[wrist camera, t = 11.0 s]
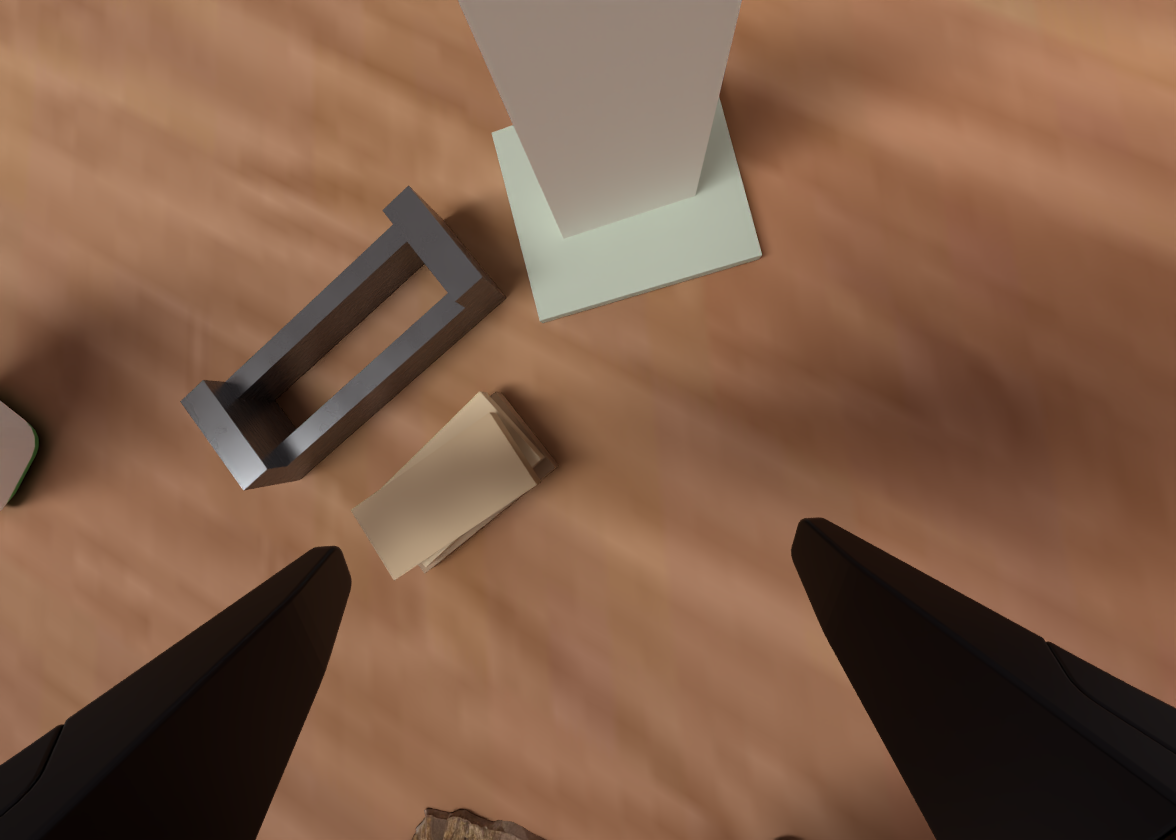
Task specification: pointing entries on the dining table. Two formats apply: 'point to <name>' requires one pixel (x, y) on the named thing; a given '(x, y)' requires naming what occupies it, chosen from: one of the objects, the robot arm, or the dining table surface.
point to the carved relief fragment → (468, 828)
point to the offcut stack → (454, 485)
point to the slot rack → (247, 399)
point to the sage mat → (629, 234)
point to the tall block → (608, 96)
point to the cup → (14, 452)
